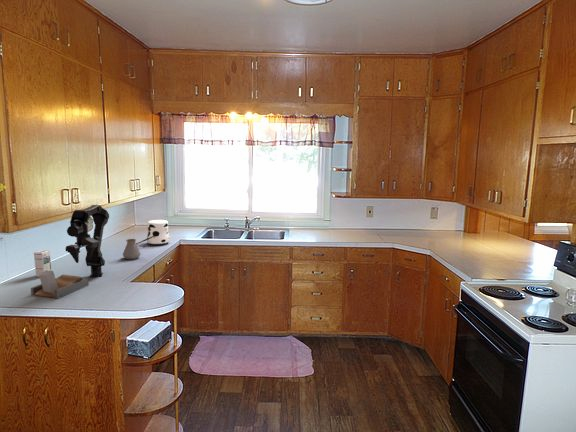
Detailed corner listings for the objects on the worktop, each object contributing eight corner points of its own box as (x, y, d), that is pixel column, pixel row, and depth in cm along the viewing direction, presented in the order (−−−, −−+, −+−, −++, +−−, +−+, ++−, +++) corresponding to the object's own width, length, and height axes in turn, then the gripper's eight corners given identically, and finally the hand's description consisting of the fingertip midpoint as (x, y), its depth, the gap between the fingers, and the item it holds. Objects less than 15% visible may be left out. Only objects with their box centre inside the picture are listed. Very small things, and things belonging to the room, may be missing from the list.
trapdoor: (64, 279, 221) (62, 274, 220) (82, 282, 218) (81, 276, 217) (36, 299, 204) (34, 293, 203) (56, 301, 201) (54, 295, 200)
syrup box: (44, 277, 231) (42, 252, 229) (35, 276, 232) (33, 252, 230) (51, 274, 237) (50, 250, 235) (43, 273, 238) (41, 249, 236)
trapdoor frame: (64, 282, 224) (63, 275, 223) (88, 285, 220) (88, 278, 219) (31, 295, 203) (30, 287, 202) (57, 298, 199) (56, 291, 199)
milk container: (174, 243, 323) (173, 221, 320) (157, 247, 308) (156, 224, 305) (159, 240, 331) (158, 218, 329) (142, 244, 317) (141, 221, 314)
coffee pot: (122, 260, 269) (121, 239, 266) (123, 256, 280) (122, 235, 277) (155, 258, 276) (155, 237, 273) (155, 254, 286) (155, 234, 284)
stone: (44, 291, 204) (38, 274, 200) (50, 287, 208) (45, 270, 204) (51, 292, 203) (46, 275, 199) (58, 288, 207) (53, 271, 203)
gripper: (81, 237, 207) (83, 266, 210) (106, 230, 225) (107, 257, 228) (63, 235, 210) (65, 264, 212) (89, 229, 228) (91, 256, 230)
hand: (83, 260), depth 221 cm, fingers open, 9 cm apart
